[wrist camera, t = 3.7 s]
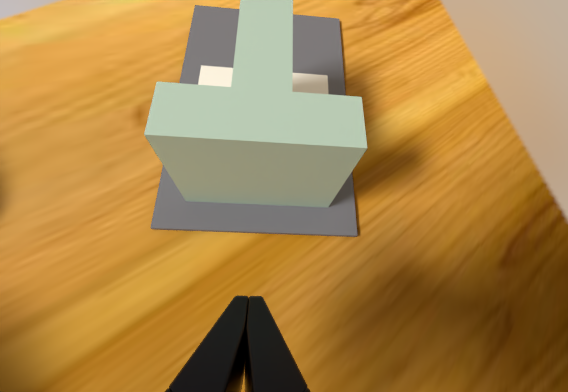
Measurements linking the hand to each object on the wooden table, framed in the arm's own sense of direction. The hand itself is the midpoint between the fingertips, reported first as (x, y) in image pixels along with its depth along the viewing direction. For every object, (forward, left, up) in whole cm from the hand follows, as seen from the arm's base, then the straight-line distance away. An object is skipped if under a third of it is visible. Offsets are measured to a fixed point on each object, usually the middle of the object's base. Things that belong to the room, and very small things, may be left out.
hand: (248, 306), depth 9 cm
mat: (+11, -11, -10) cm, 19 cm away
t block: (+9, -8, -9) cm, 15 cm away
